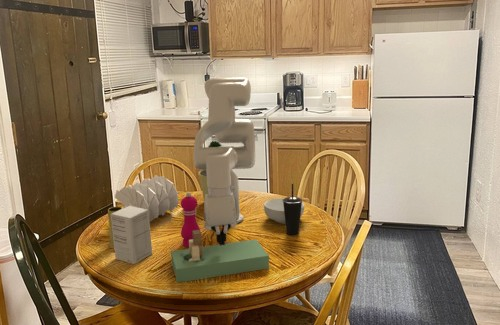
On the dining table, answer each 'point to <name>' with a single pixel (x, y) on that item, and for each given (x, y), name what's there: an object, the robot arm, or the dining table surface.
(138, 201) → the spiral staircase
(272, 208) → the cereal bowl
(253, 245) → the putting mat
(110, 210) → the vase
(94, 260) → the dining table surface
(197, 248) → the stacked wooden blocks
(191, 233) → the pepper mill
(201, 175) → the potted cactus
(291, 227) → the drinking cup
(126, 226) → the supplement box
